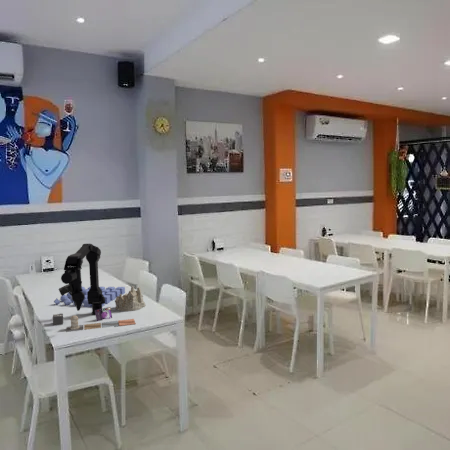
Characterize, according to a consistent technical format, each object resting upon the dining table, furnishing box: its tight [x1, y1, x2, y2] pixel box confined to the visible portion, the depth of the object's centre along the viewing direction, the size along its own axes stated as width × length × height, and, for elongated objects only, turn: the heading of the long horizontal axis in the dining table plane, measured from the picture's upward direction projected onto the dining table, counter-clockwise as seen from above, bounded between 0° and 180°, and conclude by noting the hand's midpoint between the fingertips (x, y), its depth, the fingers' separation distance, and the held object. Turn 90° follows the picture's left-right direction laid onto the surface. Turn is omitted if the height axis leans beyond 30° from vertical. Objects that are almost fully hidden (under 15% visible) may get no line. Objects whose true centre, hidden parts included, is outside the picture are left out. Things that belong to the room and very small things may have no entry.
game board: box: [65, 318, 136, 333], centre depth 230 cm, size 9×36×1 cm, turn 108°
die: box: [52, 313, 64, 326], centre depth 234 cm, size 5×5×5 cm
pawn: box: [69, 315, 80, 330], centre depth 226 cm, size 5×5×7 cm
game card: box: [94, 306, 113, 322], centre depth 241 cm, size 7×5×9 cm
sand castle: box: [114, 285, 146, 312], centre depth 263 cm, size 16×16×15 cm
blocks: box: [53, 286, 126, 308], centre depth 285 cm, size 35×34×5 cm
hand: (77, 308), depth 225 cm, fingers open, 9 cm apart
